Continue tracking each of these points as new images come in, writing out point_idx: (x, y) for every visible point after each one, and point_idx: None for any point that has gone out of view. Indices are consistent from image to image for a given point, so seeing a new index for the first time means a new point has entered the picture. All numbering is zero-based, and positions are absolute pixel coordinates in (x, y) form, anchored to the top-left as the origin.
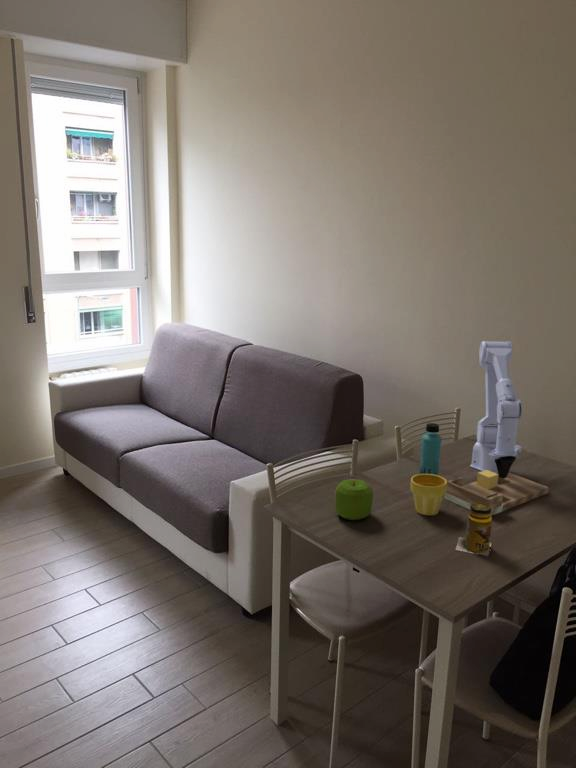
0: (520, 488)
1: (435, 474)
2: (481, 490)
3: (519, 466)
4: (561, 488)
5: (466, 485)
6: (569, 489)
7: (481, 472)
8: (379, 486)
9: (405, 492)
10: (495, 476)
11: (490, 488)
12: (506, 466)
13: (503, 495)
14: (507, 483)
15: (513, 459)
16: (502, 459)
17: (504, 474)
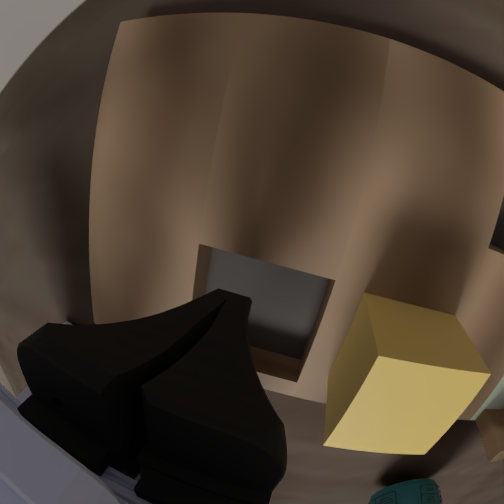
0: (279, 125)
1: (433, 501)
2: (484, 336)
3: (18, 286)
4: (62, 45)
5: None
6: (57, 25)
7: (406, 446)
8: (470, 498)
9: (495, 466)
10: (419, 356)
11: (436, 311)
12: (235, 365)
13: (496, 190)
14: (257, 250)
15: (82, 362)
16: (258, 493)
17: (247, 315)
